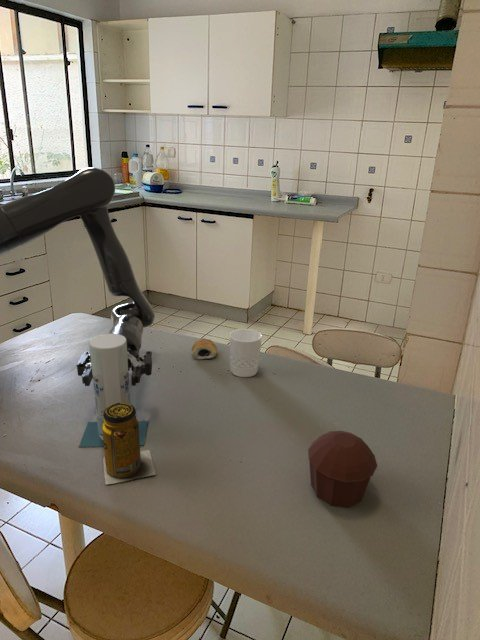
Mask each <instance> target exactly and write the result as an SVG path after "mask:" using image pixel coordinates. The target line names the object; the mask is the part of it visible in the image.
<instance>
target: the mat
mask: <svg viewBox="0 0 480 640" xmlns="http://www.w3.org/2000/svg"><path fill="white" fill-rule="evenodd" d="M138 423H139V439H140V447H144V446H145V441H146V435H147V428H148V423H149V420H138ZM78 448H104V441H103V440H102V439H101V438H100V436H99V432H98V422H97V421H88V422H87V424H86V426H85V428H84V432H83V434H82V437H81V440H80V443H79V445H78Z"/></svg>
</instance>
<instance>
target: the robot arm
mask: <svg viewBox="0 0 480 640" xmlns="http://www.w3.org/2000/svg"><path fill="white" fill-rule="evenodd" d="M115 193H116V184H115V180H114V179H113V177H112V176H111V174H110V173H108V172H107V171H105V170H103V169H102V168H97V167H86V168H82V169H81V170H79V171H77V173H75V174H74V175H72V176H70V177H69V178H67V179H66V180H64V181H61V182H60V183H57V184H56V185H55V186H52V187H51V188H47V189H46V190H43V191H40V192H36V193H33V194H29V195H26V196H23V197H20V198H17V199H13V200H12V201H8V202H6V203H3V204H0V257H3V256H4V255H7V254H9V253H11V252H14V251H15V250H18V249H20V248H22V247H24V246H26V245H28V244H29V243H31V242H33V241H35V240H37V239H38V238H40V237H42V236H44V235H45V234H47V233H48V232H50V231H51V230H53V229H54V228H56V227H58V226H59V225H61V224H63V223H64V222H66V221H69V220H71V219H73V218H75V217H78V216H79V217H80V219H81V221H82V224H83V226H84V228H85V229H86V232H87V235H88V236H89V240H90V241H91V244H92V247H93V249H94V252H95V254H96V258H97V260H98V262H99V266H100V270H101V272H102V275H103V279H104V281H105V284H106V286H107V290H108V292H109V294H110V295H111V296H112V297H127V298H130V299H131V300H132V301H130V302H127V303H123V304H119V305H117V306H115V307H114V308H113V309H111V312H110V319H111V324H112V327H111V329H110V330H109V331H108V333H107V334H119V335H122V336H124V337H125V338H126V340H127V357H128V374H129V375H130V381H131V383H130V384H131V386H132V387H134V386H135V387H136V386H137V384H139V383H140V382H141V379H142V376H143V375H145V376H151V375H153V374H152V373H153V352H152V351H151V350H147V351H146V352H145V353H143V354H140V350H141V348H142V338H143V334H144V328H147V327H151V326H152V325H153V324H154V322H155V317H156V316H155V310H154V308H153V306H152V305H151V303H150V301H148V299H147V298H146V296H145V295H144V293H143V292H142V290H141V288H140V285H139V284H138V281H137V280H136V276H135V273H134V270H133V268H132V264H131V262H130V259H129V256H128V254H127V252H126V250H125V248H124V246H123V244H122V243H121V241H120V239H119V237H118V235H117V233H116V232H115V229H114V226H113V224H112V221H111V218H110V214H109V210H108V206H109V204H111V203H112V200H113V199H114V198H115V197H114V196H115ZM76 371H77V376H78V377H81V381H82V382H81V383H82V384H84V386H85V387H90V385H91V382H93V374H92V365H91V355H90V350H86V351H83V353H82V354H81V356H80V358H79V359H78V361H77V362H76Z"/></svg>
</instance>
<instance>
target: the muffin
mask: <svg viewBox="0 0 480 640" xmlns="http://www.w3.org/2000/svg"><path fill="white" fill-rule="evenodd" d="M307 453H308V462H309V463H308V464H309V475H310V486H311V488H312V490H313V492H314V493H315V496H316V498H318V499H320V500H322V501H324V502H325V503H327V505H330V506H332V507H333V506H334V507H342V508H350V507H351V506H353V505H355V504H359V503H361V502H362V500H363V497H364V496H365V492H366V490H367V487H368V485H369V482H370V480H371V477H373V476H374V474H375V472H376V470H377V467H378V464H377V463H378V462H377V460H376V456H375V454H374V452H373V451H372V450H371V448H370V447H369V446H368V444H367V443H366V442H365V441H364V440H363V439H362V438H361V437H360V436H358V435H356V434H354V433H352V432H349V431H346V430H331V431H328V432H326V433H324V434H321V435H320V436H318V437H317V438H316V439H314V440H313V442H312V443H311V444H310V446H309V447H308V448H307Z"/></svg>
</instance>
